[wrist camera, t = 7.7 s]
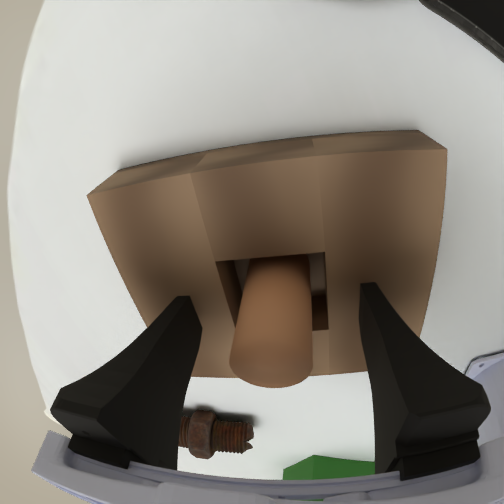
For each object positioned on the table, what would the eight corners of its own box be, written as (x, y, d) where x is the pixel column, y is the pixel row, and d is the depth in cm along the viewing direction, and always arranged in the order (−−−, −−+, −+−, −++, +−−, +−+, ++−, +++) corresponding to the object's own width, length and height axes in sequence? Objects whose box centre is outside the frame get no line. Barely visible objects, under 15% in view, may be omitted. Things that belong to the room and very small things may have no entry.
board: (418, 130, 12) (447, 149, 9) (401, 327, 18) (411, 365, 16) (118, 170, 14) (86, 195, 12) (186, 340, 21) (175, 375, 18)
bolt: (256, 407, 29) (118, 391, 30) (251, 409, 24) (94, 387, 26) (253, 462, 26) (114, 440, 28) (248, 472, 22) (90, 443, 23)
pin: (305, 237, 15) (309, 335, 10) (312, 286, 16) (316, 385, 11) (243, 245, 15) (218, 341, 10) (256, 292, 17) (240, 388, 12)
